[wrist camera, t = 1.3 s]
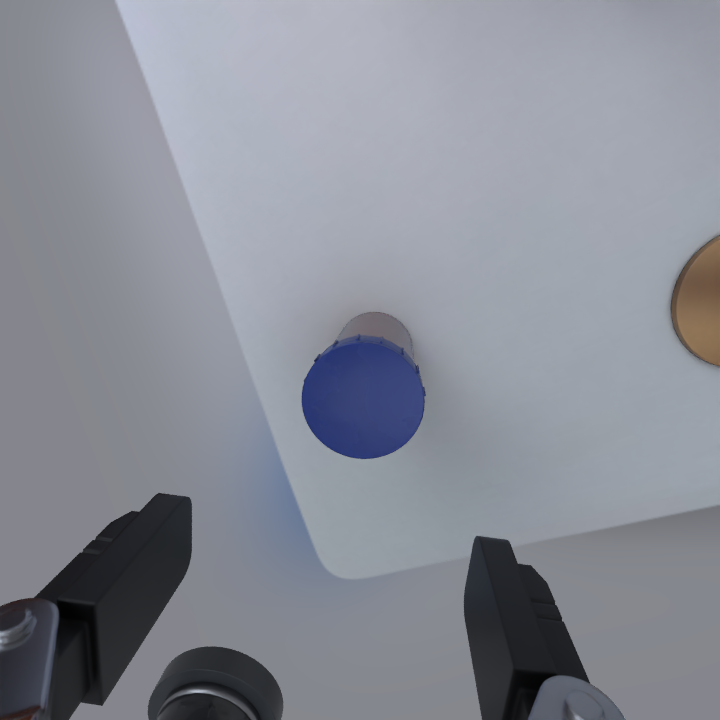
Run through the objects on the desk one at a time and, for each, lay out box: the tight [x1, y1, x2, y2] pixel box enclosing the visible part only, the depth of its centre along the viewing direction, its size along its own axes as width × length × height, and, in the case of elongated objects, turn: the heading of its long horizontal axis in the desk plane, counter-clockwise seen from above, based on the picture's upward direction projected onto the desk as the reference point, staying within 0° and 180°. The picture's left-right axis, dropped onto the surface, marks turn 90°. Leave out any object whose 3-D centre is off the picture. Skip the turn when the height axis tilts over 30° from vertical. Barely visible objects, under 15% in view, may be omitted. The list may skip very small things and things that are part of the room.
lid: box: [302, 334, 426, 459], centre depth 22 cm, size 6×6×2 cm
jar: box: [334, 312, 414, 361], centre depth 27 cm, size 5×5×10 cm
